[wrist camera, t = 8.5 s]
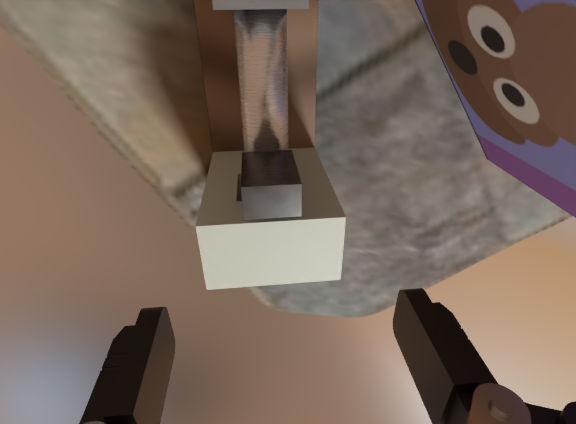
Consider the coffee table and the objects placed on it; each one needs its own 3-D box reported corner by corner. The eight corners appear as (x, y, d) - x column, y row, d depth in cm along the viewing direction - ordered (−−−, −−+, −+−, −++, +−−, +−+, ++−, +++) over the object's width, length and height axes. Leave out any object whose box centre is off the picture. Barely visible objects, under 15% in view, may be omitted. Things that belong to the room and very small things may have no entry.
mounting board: (173, -174, 22) (121, -297, 13) (320, -171, 22) (369, -285, 13) (221, 210, 35) (212, 280, 26) (311, 204, 36) (331, 271, 27)
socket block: (212, 152, 31) (195, 226, 21) (314, 147, 32) (345, 217, 22) (219, 201, 34) (206, 289, 23) (312, 196, 34) (340, 279, 24)
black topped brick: (228, -34, 20) (219, -52, 13) (285, -34, 20) (304, -52, 14) (248, 210, 28) (248, 275, 22) (288, 208, 28) (301, 271, 22)
